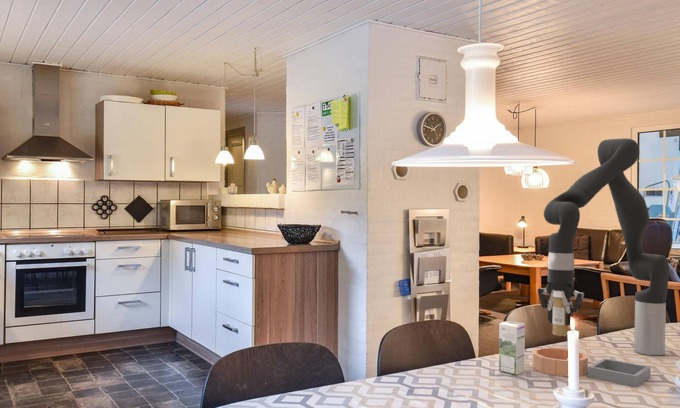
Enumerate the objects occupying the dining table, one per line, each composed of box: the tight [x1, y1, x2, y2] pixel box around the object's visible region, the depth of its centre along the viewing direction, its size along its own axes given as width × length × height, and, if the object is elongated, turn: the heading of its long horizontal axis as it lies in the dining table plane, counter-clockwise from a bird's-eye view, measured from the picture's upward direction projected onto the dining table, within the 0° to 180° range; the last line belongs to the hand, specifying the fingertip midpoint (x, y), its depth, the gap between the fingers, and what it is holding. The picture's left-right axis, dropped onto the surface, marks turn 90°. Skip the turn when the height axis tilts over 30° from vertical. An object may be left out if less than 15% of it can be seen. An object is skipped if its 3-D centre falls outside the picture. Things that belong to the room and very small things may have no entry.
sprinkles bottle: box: [551, 291, 568, 337], centre depth 179 cm, size 5×5×14 cm
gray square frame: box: [587, 357, 652, 388], centre depth 171 cm, size 13×13×3 cm
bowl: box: [531, 346, 589, 377], centre depth 179 cm, size 15×15×4 cm
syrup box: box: [498, 320, 526, 376], centre depth 175 cm, size 6×6×14 cm
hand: (560, 323), depth 179 cm, fingers closed on sprinkles bottle, 4 cm apart
